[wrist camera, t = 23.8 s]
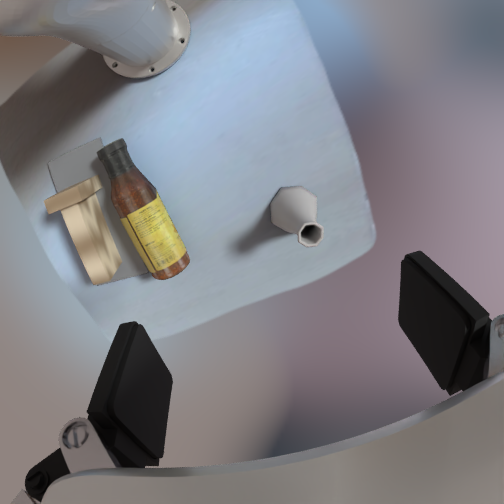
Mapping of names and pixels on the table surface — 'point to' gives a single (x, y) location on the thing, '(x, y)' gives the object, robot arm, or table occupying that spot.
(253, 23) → the table surface
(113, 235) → the mat
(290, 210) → the flask
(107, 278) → the beige t-shaped block
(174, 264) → the sauce bottle
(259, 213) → the table surface
